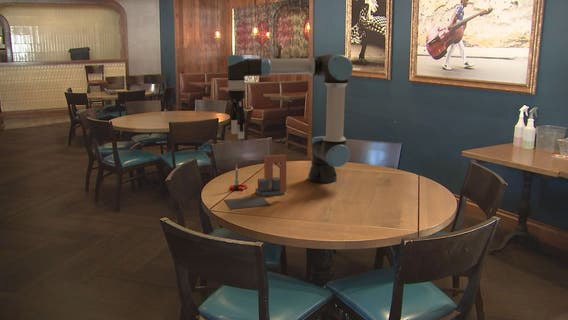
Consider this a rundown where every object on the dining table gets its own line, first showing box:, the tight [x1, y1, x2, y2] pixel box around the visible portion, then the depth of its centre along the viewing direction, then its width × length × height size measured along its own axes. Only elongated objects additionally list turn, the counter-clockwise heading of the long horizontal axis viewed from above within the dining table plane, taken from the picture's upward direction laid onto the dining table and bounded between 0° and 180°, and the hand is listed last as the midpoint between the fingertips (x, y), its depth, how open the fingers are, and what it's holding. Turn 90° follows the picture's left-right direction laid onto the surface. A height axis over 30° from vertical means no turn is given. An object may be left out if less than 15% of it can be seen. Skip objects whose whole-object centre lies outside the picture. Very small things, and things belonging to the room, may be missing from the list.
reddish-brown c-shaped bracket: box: [263, 154, 287, 193], centre depth 220 cm, size 10×2×17 cm, turn 108°
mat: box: [223, 195, 272, 211], centre depth 219 cm, size 18×14×1 cm
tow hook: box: [229, 164, 248, 192], centre depth 242 cm, size 8×13×9 cm
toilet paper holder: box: [254, 163, 285, 198], centre depth 226 cm, size 12×20×18 cm, turn 18°
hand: (237, 136), depth 225 cm, fingers open, 13 cm apart
